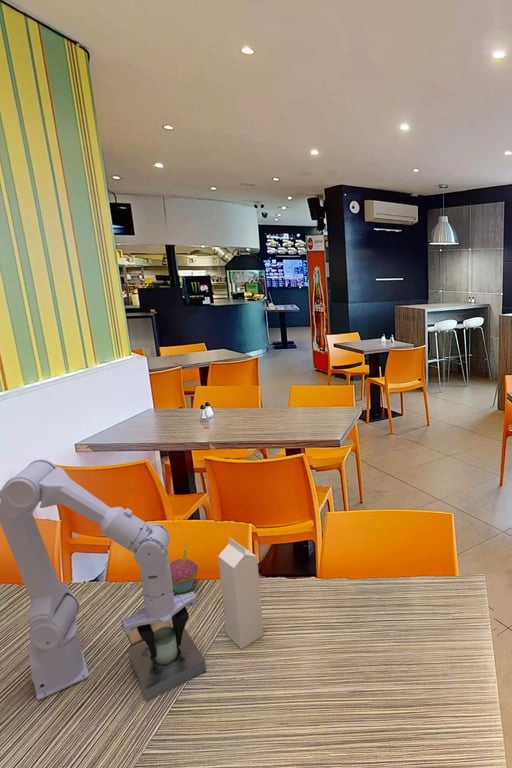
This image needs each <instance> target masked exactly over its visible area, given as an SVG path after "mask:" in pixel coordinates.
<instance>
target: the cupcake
mask: <svg viewBox="0 0 512 768" xmlns="http://www.w3.org/2000/svg"><path fill="white" fill-rule="evenodd" d="M186 545H187V544H185V545H184V547H183V551H182V553H183V554H182V558H179V559H178V558H177V559H176V560H173V561H171V562H170V568H171V577H172V585H173V592H175V593H177V594H185V593H188V592H189V591H190V590H191V589H192V587H193V584H194V583H193V582H194V579H195V578H196V577H197V573H198V569H199V567H198V565H197V563H196V562H194V560H190V559H188V558H186V556H187V546H186Z"/></svg>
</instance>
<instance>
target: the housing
mask: <svg viewBox="0 0 512 768" xmlns="http://www.w3.org/2000/svg"><path fill="white" fill-rule="evenodd" d="M195 643H196V642H194V641H193V639H192V637H191V635H190V634H189V633H188V631H187V629H186V627H184V630H183V634H182V640H181V645H180V646H177V650H178V659H177V661H175V662H173V663H171V664H169V665H167V666H165V667H164V666H157V665H156V664H155V658H152V656H151V654H150V651H149V648H148V645H147V644H146V642H145V641H142V642H140V643H138V644H135V645H133V646H131V647H130V648H128V649H127V651H128V656H129V658H128V659H129V661H130V663H131V666H132V668H133V671H134V673H135V676H136V678H137V680H138V683H139V686H140V688H141V690H142V692H143V693H142V694H143V695H144V698H145V699H146V702H148V701H151V700H153V699H155V698H157V697H159V696H160V695H162V694H165V693H166V692H169V691H170V690H172V689H174V688H176V687H178V686H180V685H181V684H184V683H185V682H187V681H190V680H191V679H193V678H195V677H198V676H199V675H202V674H203V673H204V672H207V665H206V659H205V657H204V656H203V655H202V653H201V652H200V650H199V649H198V646H197V645H196V644H195Z"/></svg>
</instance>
